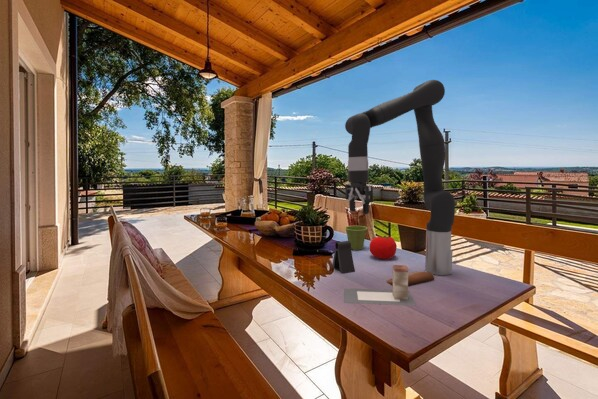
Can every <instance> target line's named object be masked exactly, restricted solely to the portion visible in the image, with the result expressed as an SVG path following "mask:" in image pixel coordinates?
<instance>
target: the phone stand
mask: <svg viewBox="0 0 598 399" xmlns="http://www.w3.org/2000/svg"><path fill="white" fill-rule="evenodd" d="M334 249H335V250H334V254H333V259H332V265H331V267H332V269H334V270H335V271H337V272H339V273H340V274H347V273H353V272H354V273H355V271H356V269H355V263H354V259H353V253H352V249H351V242H350V241H348V240H343V241H336V242H335V244H334Z"/></svg>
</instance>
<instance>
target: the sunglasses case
mask: <svg viewBox="0 0 598 399" xmlns="http://www.w3.org/2000/svg"><path fill="white" fill-rule="evenodd" d="M433 281H435V276H434V274H432V273H430V272H426V271H416V272H414V271H413V272H408V287H411V286H415V285H420V284H424V283H428V282H433ZM386 283H387V284H388V285H390V286H392V287H393V278H390V279H388V280H386Z"/></svg>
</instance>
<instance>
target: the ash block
mask: <svg viewBox="0 0 598 399" xmlns="http://www.w3.org/2000/svg"><path fill="white" fill-rule="evenodd" d="M408 274H409V268H408V266H407V265H405V264H392V279H393V286H392V290H393V297H394V299H398V300H408V290H409V286H408Z"/></svg>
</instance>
